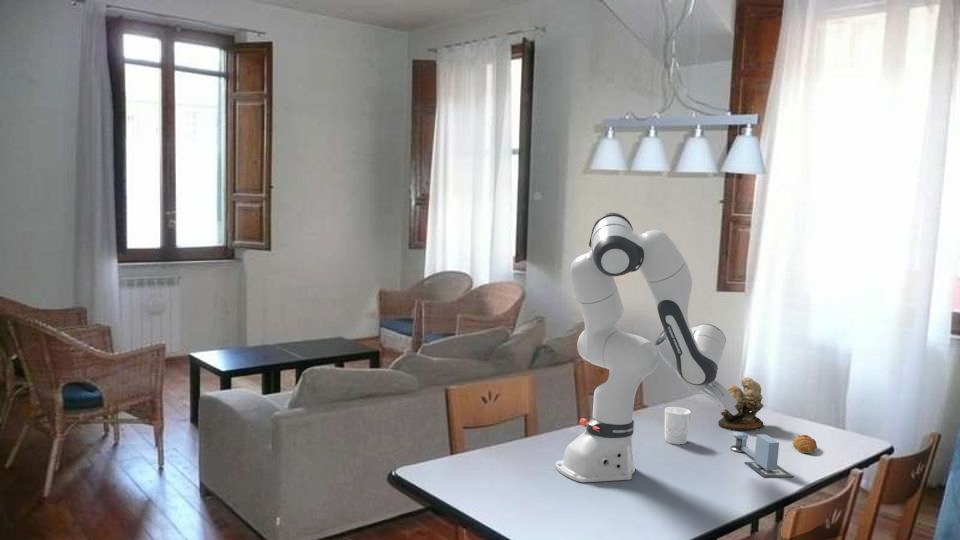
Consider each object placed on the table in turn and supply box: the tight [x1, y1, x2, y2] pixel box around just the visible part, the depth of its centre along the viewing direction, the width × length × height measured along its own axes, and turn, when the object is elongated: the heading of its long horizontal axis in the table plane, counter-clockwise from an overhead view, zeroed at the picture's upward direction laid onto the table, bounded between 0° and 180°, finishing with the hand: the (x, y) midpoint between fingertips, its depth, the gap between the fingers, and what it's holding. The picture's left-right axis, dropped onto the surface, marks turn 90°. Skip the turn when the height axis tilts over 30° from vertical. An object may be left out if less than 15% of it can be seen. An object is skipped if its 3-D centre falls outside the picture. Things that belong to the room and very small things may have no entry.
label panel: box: [743, 461, 794, 479], centre depth 211 cm, size 9×11×1 cm
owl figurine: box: [718, 376, 764, 432], centre depth 252 cm, size 18×12×17 cm, turn 120°
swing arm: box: [732, 431, 780, 470], centre depth 219 cm, size 21×4×8 cm, turn 8°
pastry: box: [792, 434, 818, 455], centre depth 231 cm, size 9×7×4 cm
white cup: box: [663, 406, 691, 446], centre depth 233 cm, size 8×8×10 cm
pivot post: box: [730, 438, 747, 454], centre depth 227 cm, size 5×5×4 cm
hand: (728, 408), depth 210 cm, fingers open, 7 cm apart
